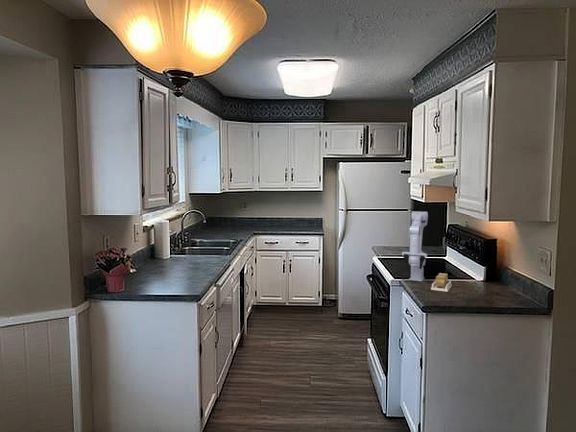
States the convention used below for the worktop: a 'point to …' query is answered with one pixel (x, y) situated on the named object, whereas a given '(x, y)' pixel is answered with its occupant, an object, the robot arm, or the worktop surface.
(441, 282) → the golden brown block
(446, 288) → the peg base
